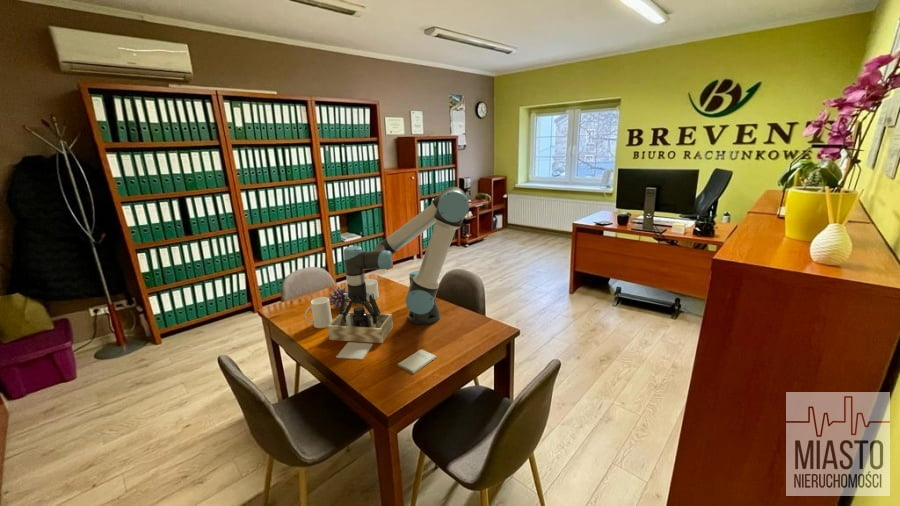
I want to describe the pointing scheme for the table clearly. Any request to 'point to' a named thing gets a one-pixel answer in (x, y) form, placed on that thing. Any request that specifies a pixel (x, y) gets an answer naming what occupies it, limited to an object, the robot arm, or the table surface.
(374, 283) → the mug
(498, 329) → the table surface
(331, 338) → the crate
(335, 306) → the purple spiky ball
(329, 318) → the mug
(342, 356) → the pad
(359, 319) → the supplement bottle
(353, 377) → the table surface
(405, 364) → the external hard drive
